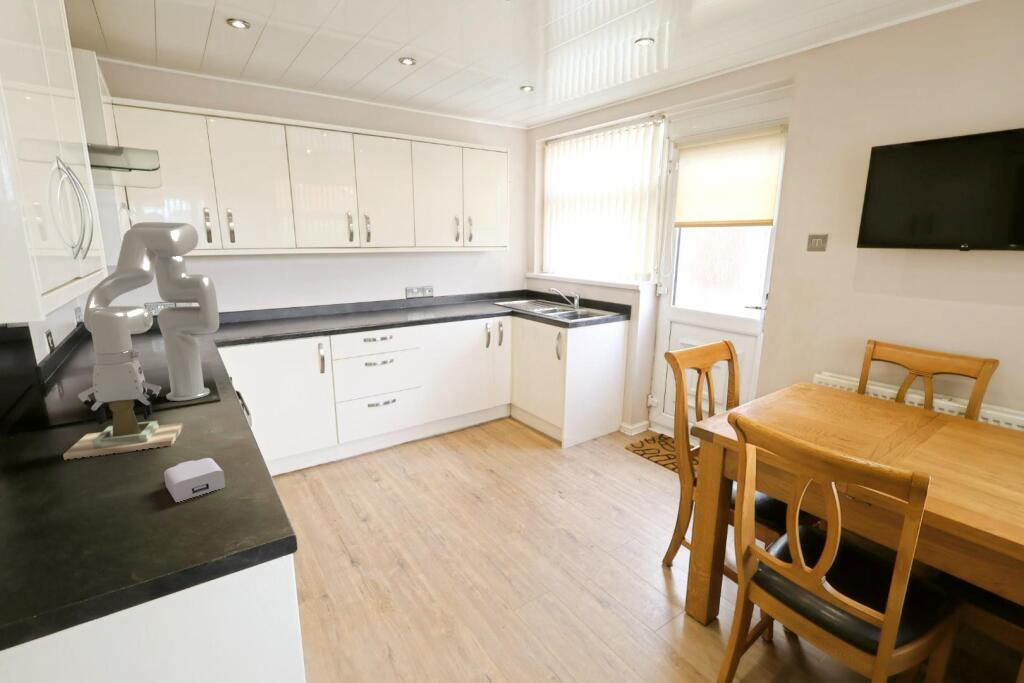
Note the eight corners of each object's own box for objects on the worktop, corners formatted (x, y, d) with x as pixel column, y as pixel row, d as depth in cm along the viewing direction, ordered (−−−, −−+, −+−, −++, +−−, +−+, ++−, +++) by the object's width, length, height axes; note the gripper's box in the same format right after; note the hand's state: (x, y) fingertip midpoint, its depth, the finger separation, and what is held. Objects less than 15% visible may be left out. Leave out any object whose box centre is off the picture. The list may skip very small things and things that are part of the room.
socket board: (87, 439, 127) (85, 426, 126) (183, 427, 136) (182, 416, 135) (64, 460, 115) (61, 446, 114) (171, 445, 123) (169, 433, 123)
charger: (207, 466, 113) (225, 488, 103) (160, 479, 106) (175, 504, 96) (204, 448, 112) (223, 468, 102) (157, 460, 105) (172, 483, 95)
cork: (138, 430, 129) (132, 393, 127) (144, 436, 125) (138, 397, 123) (110, 437, 125) (103, 398, 122) (115, 443, 121) (108, 403, 119)
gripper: (159, 352, 127) (168, 411, 131) (78, 357, 121) (89, 420, 124) (151, 358, 121) (161, 420, 124) (65, 364, 114) (77, 430, 117)
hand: (125, 420), depth 124 cm, fingers open, 9 cm apart
